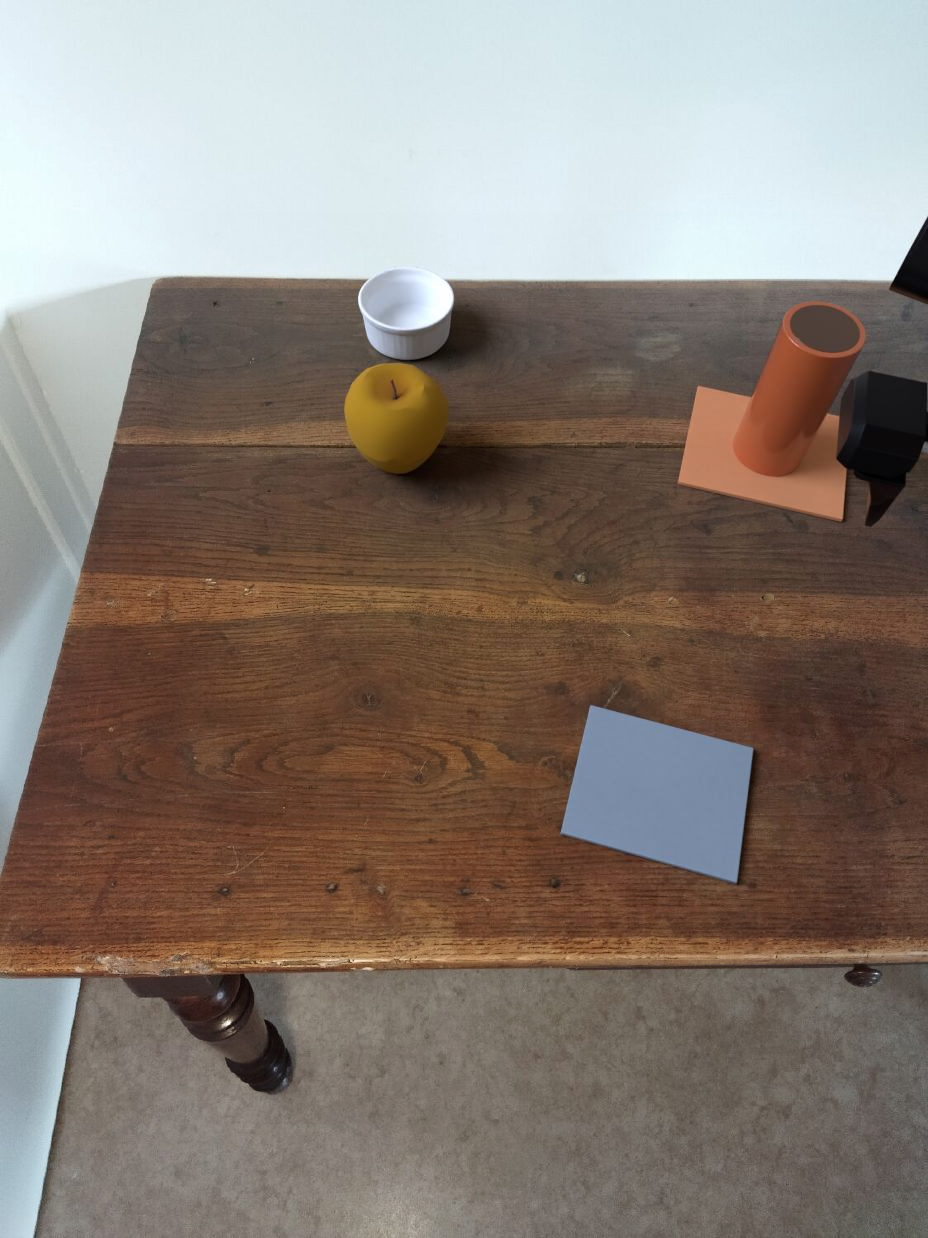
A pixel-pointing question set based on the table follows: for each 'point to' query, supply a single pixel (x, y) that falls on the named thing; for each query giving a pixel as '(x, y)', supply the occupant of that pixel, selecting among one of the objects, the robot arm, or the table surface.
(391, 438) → the apple
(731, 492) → the terracotta mat
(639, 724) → the slate mat
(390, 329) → the ramekin
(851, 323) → the terracotta pot
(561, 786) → the table surface
